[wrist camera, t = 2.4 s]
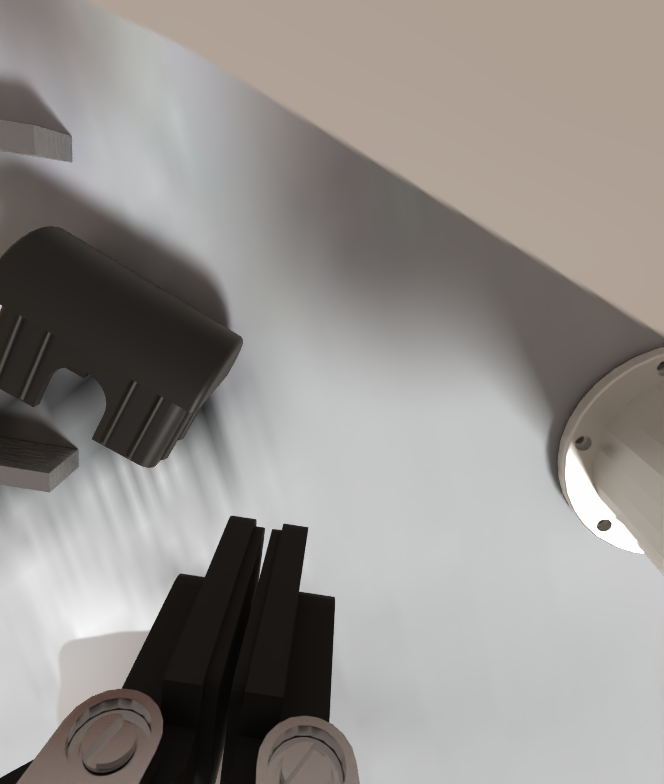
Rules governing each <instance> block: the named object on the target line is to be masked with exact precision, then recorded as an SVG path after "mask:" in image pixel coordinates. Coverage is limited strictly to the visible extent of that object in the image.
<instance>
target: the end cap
mask: <svg viewBox="0 0 664 784" xmlns="http://www.w3.org/2000/svg"><path fill="white" fill-rule="evenodd" d="M0 305H2V308H1V310H0V389H1V390H3V391H5V392H7V393H9V394H10V395H12V396H14V397H16V398H18V399H20V400H21V401H23V402H25V403H27V404H29V405H31V406H32V407H35V406H36V405H38V404H40V401H41V399H42V397H43V394H44V392H45V390H46V388H47V385H48V383H49V381H50V379H51V377H52V375H53V374H54V373H55V372H56V371H57V370H58V369H60V368H67V369H69V370H70V371H72V372H74V373H76V374H77V375H79V376H81V377H83V378H85V377H87V376H88V375H89V374H90V375H91V376H93V377H94V378H95V379H96V380H97V381H98V383H99V384H100V385H101V387H102V389H103V391H104V393H105V397H106V410H105V413H104V415H103V417H102V419H101V421H100V423H99V425H98V427H97V429H96V431H95V433H94V435H93V437H92V439H93V440H94V441H96V442H98V443H100V444H102V445H104V446H105V447H107V448H109V449H111V450H113V451H115V452H116V453H118V454H120V455H122V456H124V457H125V458H127V459H129V460H131V461H133V462H135V463H136V464H138V465H140V466H143V467H148V468H151V467H154V466H156V465H157V464H158V462H159V461H160V460H164V459H166V458H168V456H169V454H170V453H171V451H172V449H173V447H174V446H175V444H176V442H177V440H181V439H183V438H184V436H185V434H186V432H187V431H188V429H189V427H190V425H191V424H192V422H193V420H194V418H195V417H196V415H197V413H198V411H199V410H200V408H201V406H202V405H203V403H204V402H205V401H206V400H207V399H208V397H209V396H210V395H211V394H212V393H213V391H214V390H215V389H216V388H217V387H218V386H219V384H220V383H221V382H222V381H223V380H224V378H225V377H226V376H227V375H228V373H229V371H230V369H231V367H232V366H233V364H234V362H235V360H236V358H237V356H238V354H239V352H240V350H241V347H242V344H243V339H242V337H241V336H239V335H237V334H236V333H234V332H232V331H231V330H229V329H228V328H226V327H224V326H223V325H221V324H219V323H218V322H216V321H214V320H213V319H211V318H209V317H208V316H206V315H204V314H203V313H201V312H199V311H198V310H196V309H194V308H193V307H191V306H189V305H188V304H186V303H184V302H183V301H181V300H179V299H178V298H176V297H175V296H173V295H171V294H170V293H168V292H166V291H165V290H163V289H161V288H160V287H158V286H156V285H155V284H153V283H151V282H150V281H148V280H146V279H145V278H143V277H141V276H140V275H138V274H136V273H135V272H133V271H131V270H130V269H128V268H126V267H125V266H123V265H122V264H120V263H118V262H117V261H115V260H113V259H112V258H110V257H108V256H107V255H105V254H103V253H102V252H100V251H98V250H97V249H95V248H93V247H92V246H90V245H88V244H87V243H85V242H83V241H82V240H80V239H78V238H77V237H75V236H73V235H72V234H70V233H69V232H67V231H65V230H63V229H62V228H59V227H51V226H49V227H43V228H39V229H37V230H35V231H32V232H30V233H28V234H27V235H25V236H24V237H22V238H21V239H19V240H18V241H17V242H16V243H15V244H13V245H12V246H11V247H10V248H9V249H8V250H7V251H6V252H5V253H4V255H3V256H2V257H1V258H0Z"/></svg>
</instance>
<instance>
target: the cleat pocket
mask: <svg viewBox="0 0 664 784" xmlns="http://www.w3.org/2000/svg"><path fill="white" fill-rule="evenodd" d="M0 151H5V152H11V153H17V154H23V155H29V156H36V157H42V158H48V159H54V160H60V161H67V162H72V137H71V136H70V135H67V134H64V133H60V132H57V131H53V130H50V129H46V128H43V127H40V126H36V125H32V124H26V123H20V122H13V121H7V120H1V119H0ZM77 468H78V449H72V448H66V447H59V446H53V445H47V444H41V443H34V442H28V441H22V440H16V439H9V438H3V437H0V485H7V486H13V487H19V488H26V489H32V490H38V491H44V492H51V491H52V490H53V489H54V488H55V487H56V486H58V485H59V484H60V483H61V482H62V481H63V480H64V479H65V478H67V477H68V476H69V475H70V474H71V473H72V472H73V471H75V470H76V469H77Z"/></svg>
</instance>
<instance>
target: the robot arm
mask: <svg viewBox="0 0 664 784" xmlns="http://www.w3.org/2000/svg"><path fill="white" fill-rule="evenodd" d="M659 364H660V365H659ZM658 365H659V366H658ZM579 437H580V438H579ZM578 438H579V439H578ZM577 439H578V440H577ZM558 477H559V481H560V485H561V488H562V492H563V495H564V497H565V498H566V500H567V502H568V504H569V506H570V507H571V509H572V511H573V512H574V513H575V514H576V516H577V517H578V518H579V520H580V521H581V522H582V524H583V525H584V526H585V527H586V528H588V529H589V530H590V531H591V532H592V533H593V534H594V535H595V536H597V537H599V538H600V539H602V540H604V541H606V542H607V543H609V544H611V545H613V546H615V547H618V548H621V549H624V550H627V551H630V552H635V553H641V554H645V555H646V556H647V557H648V558H649V559H650V560H651V562H652V563H653V564H654V565H655V566H656V567H657V569H658V570H659V571H660V572H661V573H662V574H663V576H664V347H661V348H658V349H655V350H652V351H650V352H647V353H644V354H642V355H639V356H636V357H634V358H633V359H631V360H629V361H627V362H626V363H624V364H622V365H620V366H619V367H617V368H615V369H614V370H612V371H611V372H610V373H609V374H607V375H606V376H605V377H604V378H602V379H601V380H600V381H599V382H597V383H596V384H595V385H594V386H593V387H592V388H591V390H590V391H589V392H588V393H587V394H586V395H585V396H584V397H583V399H582V400H581V401H580V402H579V404H578V405H577V407H576V409H575V410H574V412H573V413H572V415H571V417H570V418H569V420H568V422H567V425H566V427H565V430H564V432H563V435H562V438H561V441H560V447H559V453H558ZM264 533H265V528H263V527H256V519H250V518H244V517H237V516H230V518H229V520H228V523H227V525H226V528H225V530H224V532H223V535H222V537H221V540H220V542H219V544H218V547H217V549H216V552H215V554H214V557H213V559H212V561H211V564H210V566H209V569H208V571H207V573H206V576H205V577H199V576H193V575H186V574H180V575H178V577H177V578H176V580H175V582H174V584H173V586H172V588H171V590H170V592H169V594H168V596H167V598H166V600H165V602H164V604H163V606H162V608H161V610H160V612H159V614H158V616H157V618H156V620H155V622H154V624H153V626H152V628H151V630H150V632H149V635H148V636H147V638H146V641H145V643H144V645H143V647H142V649H141V651H140V653H139V655H138V657H137V659H136V661H135V663H134V665H133V667H132V669H131V671H130V673H129V675H128V677H127V679H126V681H125V683H124V685H123V687H122V689H116V690H109V691H105V692H103V693H100V694H97V695H95V696H92V697H90V698H89V699H87V700H86V701H84V702H83V703H81V704H80V705H79V706H77V707H76V708H75V709H74V710H73V711H72V712H71V713H70V714H69V715H68V716H67V717H66V718H65V719H64V721H63V722H62V723H61V725H60V726H59V727H58V729H57V730H56V731H55V733H54V734H53V735H52V737H51V738H50V739H49V741H48V742H47V743H46V745H45V746H44V747H43V749H42V750H41V751H40V753H39V754H38V755H37V757H36V758H35V759H34V760H32V761H30V762H28V763H27V764H25V765H23V766H21V767H19V768H18V769H16V770H14V771H12V772H10V773H8V774H7V775H5V776H3V777H1V778H0V784H215V782H216V778H217V774H218V770H219V766H220V762H221V758H222V753H223V750H224V754H223V762H222V771H221V780H220V784H360V783H359V776H358V769H357V763H356V759H355V756H354V753H353V749H352V747H351V745H350V744H349V742H348V740H347V739H346V737H345V736H344V734H343V733H342V732H340V731H339V730H338V729H337V728H336V727H335V726H334V725H333V724H331V723H329V717H330V696H331V676H332V655H333V635H334V614H335V597H331V596H324V595H317V594H311V593H304V592H299V587H300V580H301V574H302V567H303V560H304V553H305V546H306V540H307V533H308V527H302V526H296V525H289V524H283V528H282V530H276V529H272V532H271V536H270V540H269V544H268V548H267V552H266V555H265V559H264V563H263V567H262V571H261V574H260V578H259V573H260V565H261V557H262V549H263V541H264ZM258 581H259V582H258Z"/></svg>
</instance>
